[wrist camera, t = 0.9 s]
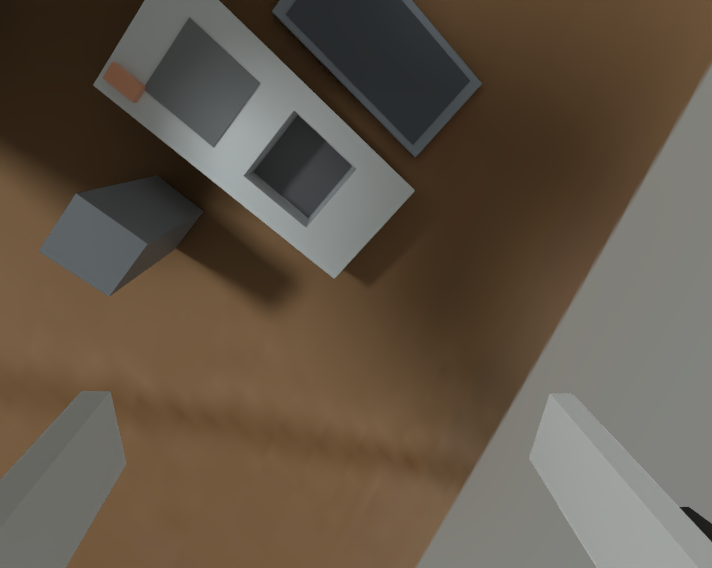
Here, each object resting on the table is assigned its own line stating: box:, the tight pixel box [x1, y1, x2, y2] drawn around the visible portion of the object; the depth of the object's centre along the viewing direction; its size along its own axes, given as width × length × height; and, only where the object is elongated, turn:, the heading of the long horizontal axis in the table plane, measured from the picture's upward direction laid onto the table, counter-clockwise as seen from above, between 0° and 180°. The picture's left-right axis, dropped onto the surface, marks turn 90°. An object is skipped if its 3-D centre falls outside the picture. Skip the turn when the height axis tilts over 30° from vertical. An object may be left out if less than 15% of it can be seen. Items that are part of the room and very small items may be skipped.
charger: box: [39, 176, 203, 296], centre depth 26 cm, size 4×4×10 cm
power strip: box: [93, 0, 415, 279], centre depth 27 cm, size 20×9×4 cm, turn 48°
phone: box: [272, 0, 482, 157], centre depth 27 cm, size 7×14×1 cm, turn 48°
